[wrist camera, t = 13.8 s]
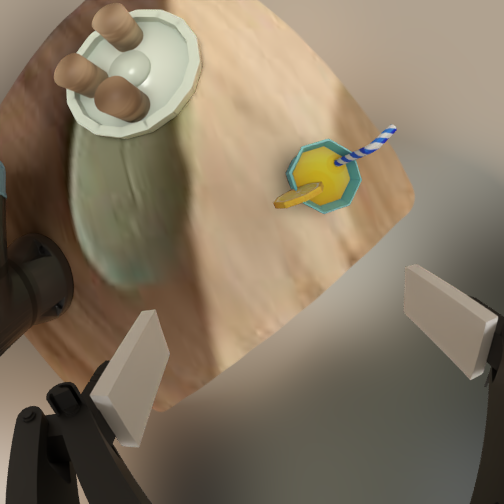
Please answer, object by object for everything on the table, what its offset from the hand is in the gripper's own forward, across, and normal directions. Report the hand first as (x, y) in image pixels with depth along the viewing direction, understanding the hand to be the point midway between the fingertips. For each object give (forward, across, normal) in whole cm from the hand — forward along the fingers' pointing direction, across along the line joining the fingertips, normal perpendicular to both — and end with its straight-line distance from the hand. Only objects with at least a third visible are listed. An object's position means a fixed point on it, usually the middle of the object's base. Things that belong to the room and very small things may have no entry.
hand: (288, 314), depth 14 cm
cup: (+27, +8, +6) cm, 29 cm away
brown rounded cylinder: (+26, -20, +25) cm, 41 cm away
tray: (+27, -14, +25) cm, 39 cm away
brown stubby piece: (+26, -14, +19) cm, 35 cm away
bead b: (+26, -14, +31) cm, 43 cm away
